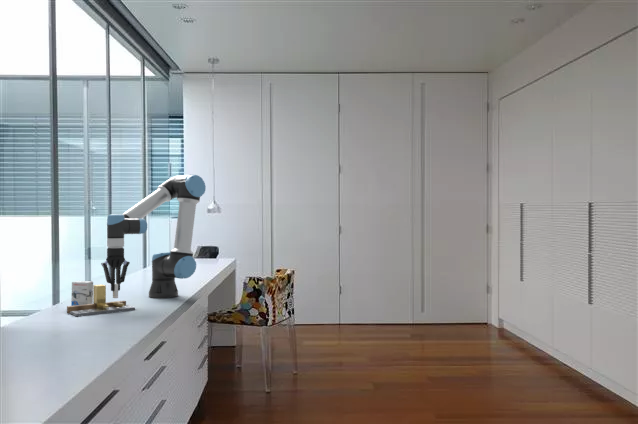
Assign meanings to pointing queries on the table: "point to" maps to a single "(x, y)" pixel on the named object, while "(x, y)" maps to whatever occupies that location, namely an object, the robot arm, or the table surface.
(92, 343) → the table surface
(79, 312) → the gray rectangular panel
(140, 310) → the table surface
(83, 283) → the ink box
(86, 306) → the beam
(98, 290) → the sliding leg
